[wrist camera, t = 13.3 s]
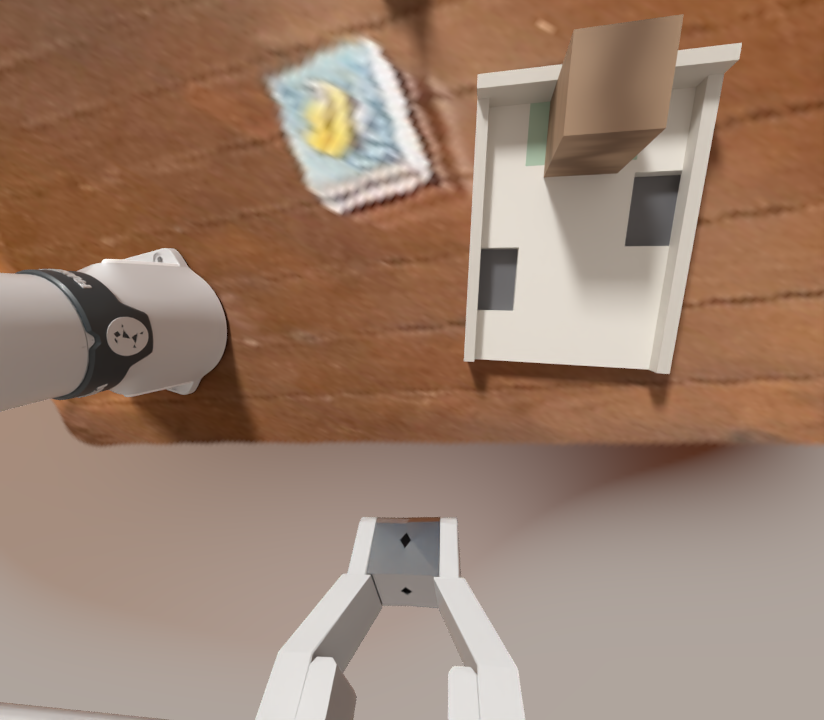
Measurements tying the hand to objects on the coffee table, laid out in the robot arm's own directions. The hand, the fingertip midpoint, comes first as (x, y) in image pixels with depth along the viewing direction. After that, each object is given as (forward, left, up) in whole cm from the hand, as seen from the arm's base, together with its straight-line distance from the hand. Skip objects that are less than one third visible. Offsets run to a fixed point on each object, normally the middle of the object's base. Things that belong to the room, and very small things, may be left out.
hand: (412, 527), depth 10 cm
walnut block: (+9, +21, -25) cm, 34 cm away
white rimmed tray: (+9, +13, -27) cm, 31 cm away
